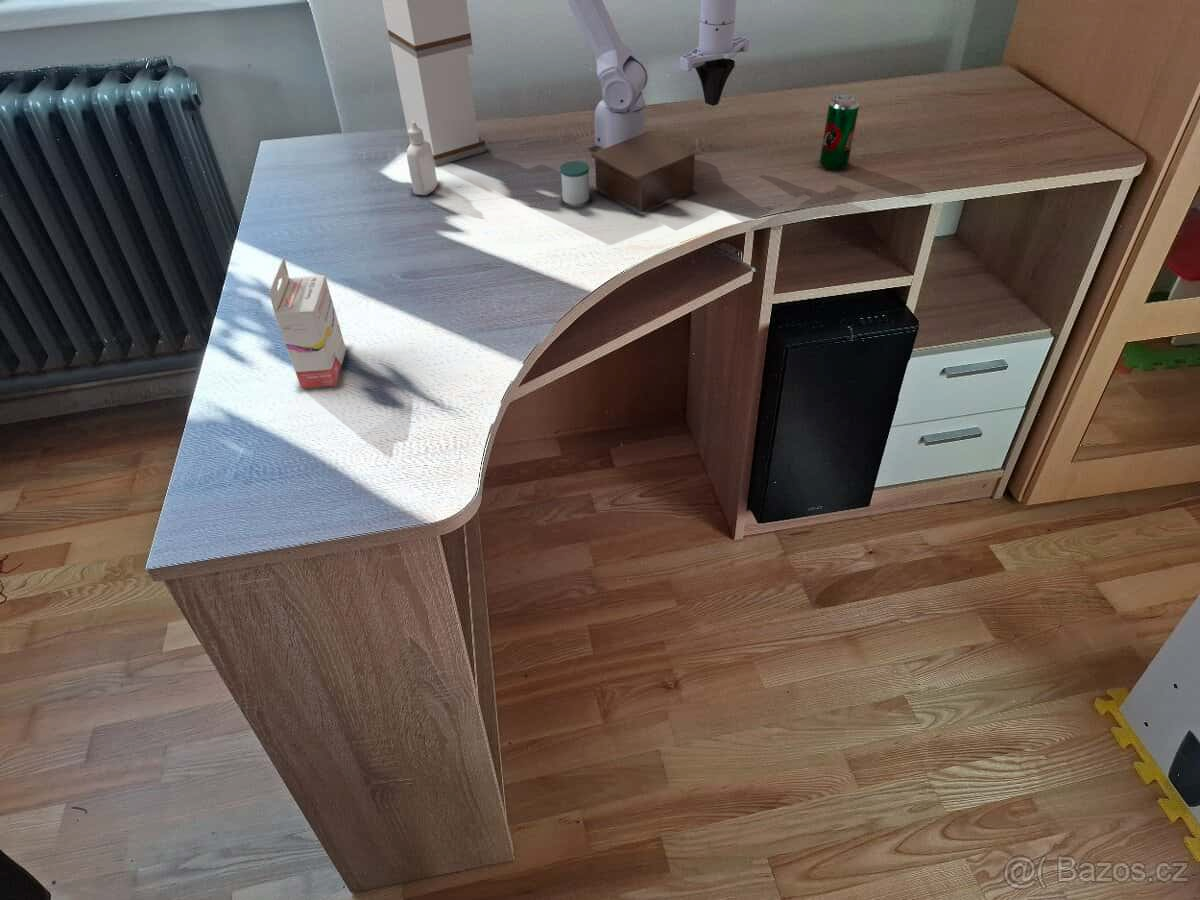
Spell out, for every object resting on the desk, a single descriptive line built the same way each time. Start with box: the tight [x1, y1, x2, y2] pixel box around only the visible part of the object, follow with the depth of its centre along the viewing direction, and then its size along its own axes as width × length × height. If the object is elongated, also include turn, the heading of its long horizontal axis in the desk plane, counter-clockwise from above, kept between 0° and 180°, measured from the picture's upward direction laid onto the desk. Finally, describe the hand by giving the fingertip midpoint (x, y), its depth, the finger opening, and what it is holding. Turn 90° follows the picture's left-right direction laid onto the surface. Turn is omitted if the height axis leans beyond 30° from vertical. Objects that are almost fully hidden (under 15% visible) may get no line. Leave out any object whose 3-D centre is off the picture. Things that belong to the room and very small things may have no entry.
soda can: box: [819, 93, 860, 171], centre depth 144 cm, size 5×5×12 cm
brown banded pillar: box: [381, 0, 487, 167], centre depth 146 cm, size 11×11×35 cm
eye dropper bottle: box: [406, 121, 438, 196], centre depth 141 cm, size 4×6×12 cm
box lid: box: [590, 131, 696, 180], centre depth 137 cm, size 13×12×1 cm
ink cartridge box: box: [269, 258, 347, 389], centre depth 104 cm, size 9×5×15 cm, turn 5°
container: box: [559, 160, 590, 205], centre depth 139 cm, size 5×5×6 cm
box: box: [594, 156, 696, 213], centre depth 140 cm, size 12×12×6 cm
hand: (711, 103), depth 144 cm, fingers closed
